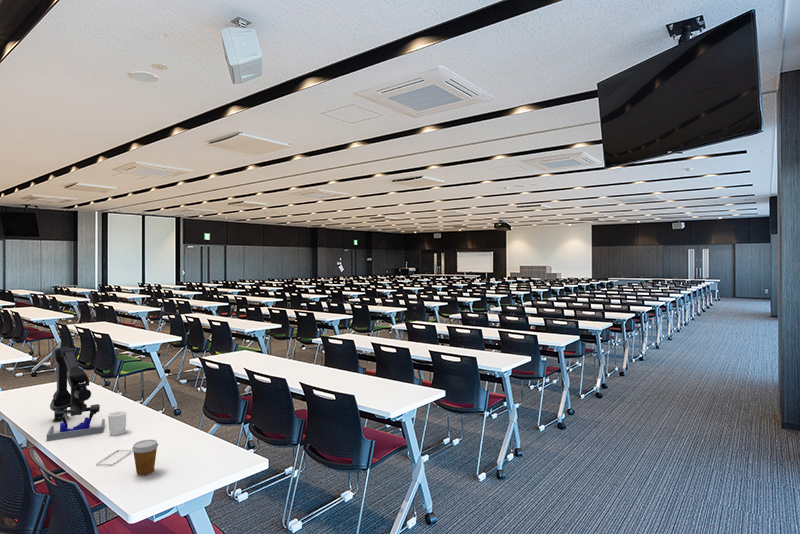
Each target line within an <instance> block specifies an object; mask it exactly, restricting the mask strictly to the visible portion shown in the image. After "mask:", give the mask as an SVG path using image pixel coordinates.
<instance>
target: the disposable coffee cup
mask: <svg viewBox="0 0 800 534" xmlns="http://www.w3.org/2000/svg"><path fill="white" fill-rule="evenodd" d="M158 446H159V443H158V441H157V440H156V439H143V440H140V441H137V442H135V443H134V444H133V445H132V448H131V450H133V452H132V453H133V457H134V458H133V459H134V464H135V470H136V471H135V472H136V475H137V474H138V475H137V476H139V475H144V476H148V475H147V474H149V475H150V473H151V474H153V473H154V472H155V465H156V464H155V463H156V459H157V457H156V456H157V450H158ZM152 472H153V473H152Z"/></svg>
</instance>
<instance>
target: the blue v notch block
mask: <svg viewBox="0 0 800 534" xmlns="http://www.w3.org/2000/svg"><path fill="white" fill-rule="evenodd" d="M90 424H91V422H90V419H89V416H88V417H86V416H85V417H84V420H83V422H80V423H79V424H78V425H76V426H73V427H72V428H69V427H68V428H66V426H65V423H64V422H63V421H62V422H60V423H59V433H60V432H67V431H74V430H81V429H88V428H91V427H90V426H91V425H90Z"/></svg>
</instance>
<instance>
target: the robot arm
mask: <svg viewBox="0 0 800 534" xmlns="http://www.w3.org/2000/svg"><path fill="white" fill-rule="evenodd" d="M74 350H75V349H74V348H70V347H69V346H63V347H57V348H54V349H53V350H52V351H51V355H52V356H51V357H53V361H54V362H55V363H56V391H55V392H54V393H53V395H52V399H51V402H50V404H49V409H50V410H51V412H52V411H53V413H54V416H53V417H54V418H53V420H52V423H54V422H55V423H56V422H62V423H63V422H64V423H65V426H66V428H69V425H68V419H69V417H70V416H71V417H75V416H82V414H83V413H85V412H89V414H88V415H89V416H88V418H89V419H90V423H91V422H92V419H93V417H94V415H96V414H97V413H99V412H100V410H101V409H100V408H101V405H100V404H99V403H96V404H91V405H90V407H88V406H87V403H85V401H88V400H90V398H91V397H92V392H91V390H90V389H88V388H87V387H88V386H90V382H91V381H90V379H89V376H88V374H87V373H86V372H85V370H84V369H83V368H81V367H80V366H79V364H78V361H77V358H76V356H75V351H74ZM68 384H69V389H70V391H69V390H68ZM68 408H69V409H68ZM69 414H70V416H69Z"/></svg>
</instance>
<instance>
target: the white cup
mask: <svg viewBox="0 0 800 534" xmlns="http://www.w3.org/2000/svg"><path fill="white" fill-rule="evenodd" d="M107 416H108V417H107V419H108V420H107V421H108V429H109V431H108V432H109V436H114V437H116V436H121V435H123V434H125V433H126V426H127V411H124V410H118V411H112V412H109V414H108V415H107Z"/></svg>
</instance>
